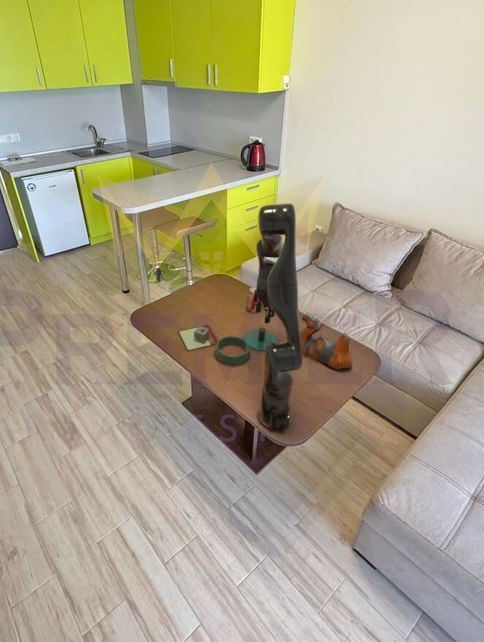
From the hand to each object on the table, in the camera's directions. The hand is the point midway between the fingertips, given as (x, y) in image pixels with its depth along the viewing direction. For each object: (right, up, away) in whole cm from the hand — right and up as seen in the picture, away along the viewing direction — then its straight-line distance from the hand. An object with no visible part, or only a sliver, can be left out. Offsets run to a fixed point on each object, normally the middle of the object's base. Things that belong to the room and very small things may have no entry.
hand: (262, 317), depth 159 cm
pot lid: (0, -11, +7) cm, 13 cm away
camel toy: (+25, -17, -1) cm, 31 cm away
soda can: (-1, +2, +28) cm, 29 cm away
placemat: (-28, -10, +9) cm, 31 cm away
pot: (-13, -16, -1) cm, 21 cm away
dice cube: (-26, -10, +7) cm, 29 cm away
